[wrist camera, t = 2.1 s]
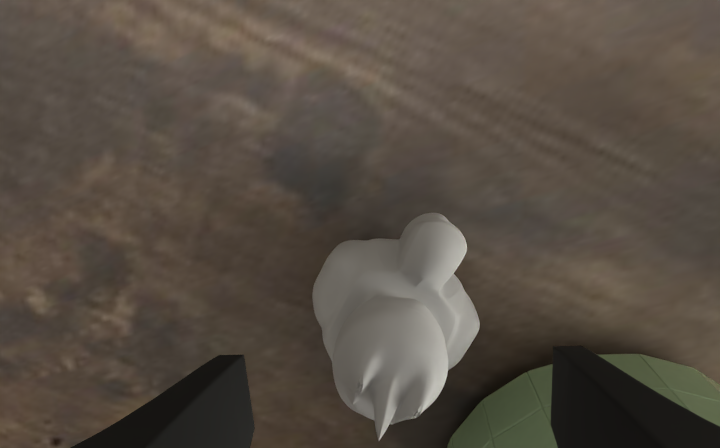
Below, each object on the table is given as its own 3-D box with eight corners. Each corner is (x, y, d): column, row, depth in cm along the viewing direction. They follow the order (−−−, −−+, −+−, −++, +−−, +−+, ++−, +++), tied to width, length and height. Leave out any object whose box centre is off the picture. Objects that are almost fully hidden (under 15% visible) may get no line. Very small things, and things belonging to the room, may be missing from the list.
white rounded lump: (296, 315, 19) (228, 467, 12) (372, 163, 17) (352, 225, 10) (420, 375, 20) (435, 562, 12) (508, 232, 18) (591, 343, 10)
